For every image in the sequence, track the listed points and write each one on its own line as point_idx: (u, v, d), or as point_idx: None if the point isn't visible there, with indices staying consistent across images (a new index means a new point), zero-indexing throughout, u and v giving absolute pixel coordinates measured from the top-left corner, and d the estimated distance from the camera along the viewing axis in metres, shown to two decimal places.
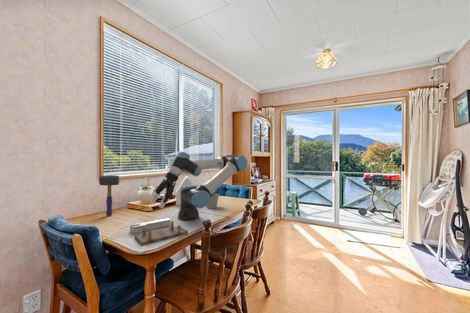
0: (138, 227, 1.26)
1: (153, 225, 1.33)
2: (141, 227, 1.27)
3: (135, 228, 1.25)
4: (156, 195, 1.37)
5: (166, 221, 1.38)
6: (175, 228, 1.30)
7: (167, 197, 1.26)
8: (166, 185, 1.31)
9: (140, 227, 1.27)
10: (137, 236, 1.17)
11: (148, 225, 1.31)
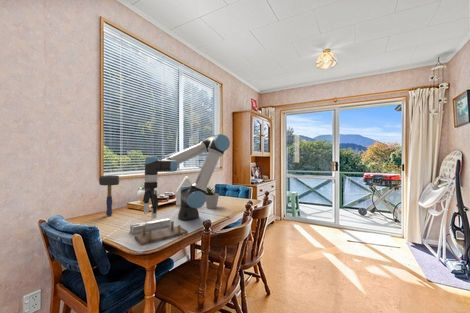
0: (138, 227, 1.26)
1: (153, 225, 1.33)
2: (141, 227, 1.27)
3: (135, 228, 1.25)
4: (146, 205, 1.38)
5: (166, 221, 1.38)
6: (175, 228, 1.30)
7: (155, 207, 1.27)
8: (149, 196, 1.30)
9: (140, 227, 1.27)
10: (137, 236, 1.17)
11: (148, 225, 1.31)
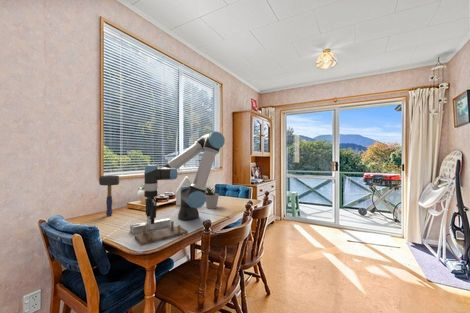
0: (138, 227, 1.26)
1: None
2: (141, 227, 1.27)
3: (135, 228, 1.25)
4: (149, 218, 1.35)
5: (166, 221, 1.38)
6: (175, 228, 1.30)
7: (152, 218, 1.30)
8: (148, 205, 1.31)
9: (140, 227, 1.27)
10: (137, 236, 1.17)
11: (148, 225, 1.31)
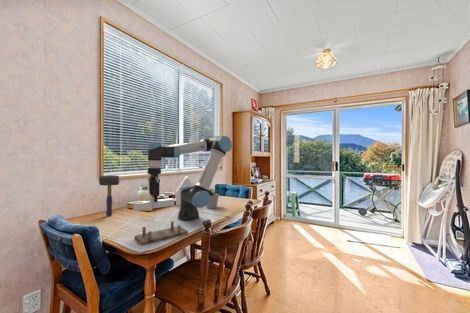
0: (140, 204, 1.22)
1: None
2: (144, 204, 1.23)
3: (137, 205, 1.21)
4: (152, 197, 1.31)
5: (170, 200, 1.34)
6: (175, 228, 1.30)
7: (155, 196, 1.26)
8: (152, 182, 1.27)
9: (143, 204, 1.23)
10: (137, 236, 1.17)
11: (151, 203, 1.27)
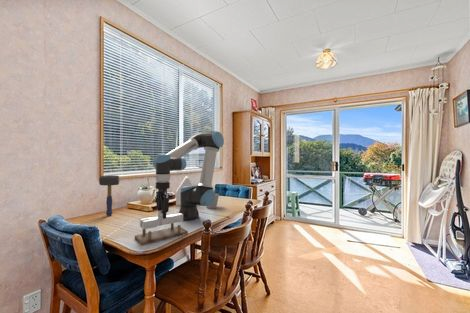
0: (149, 222, 1.14)
1: None
2: (152, 222, 1.15)
3: (146, 223, 1.13)
4: (160, 213, 1.23)
5: (178, 216, 1.26)
6: (175, 228, 1.30)
7: (164, 212, 1.19)
8: (160, 198, 1.20)
9: (151, 222, 1.15)
10: (137, 236, 1.17)
11: (159, 220, 1.19)
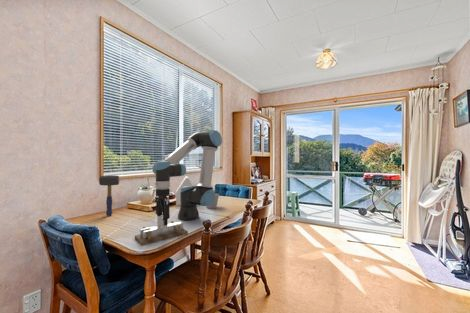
0: None
1: None
2: (152, 232, 1.16)
3: (146, 233, 1.14)
4: (159, 218, 1.24)
5: None
6: None
7: (166, 219, 1.18)
8: (160, 204, 1.19)
9: (151, 232, 1.15)
10: (137, 236, 1.17)
11: (160, 230, 1.19)
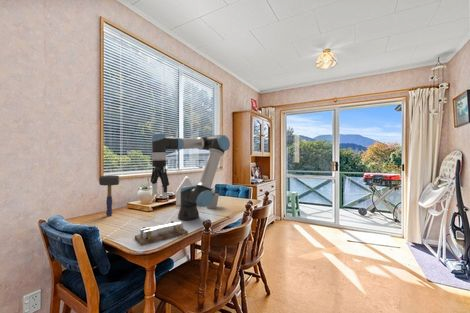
0: None
1: (165, 229, 1.21)
2: (152, 232, 1.16)
3: (146, 233, 1.14)
4: (154, 185, 1.31)
5: None
6: None
7: (165, 186, 1.20)
8: (158, 174, 1.23)
9: (151, 232, 1.15)
10: (137, 236, 1.17)
11: (160, 230, 1.19)
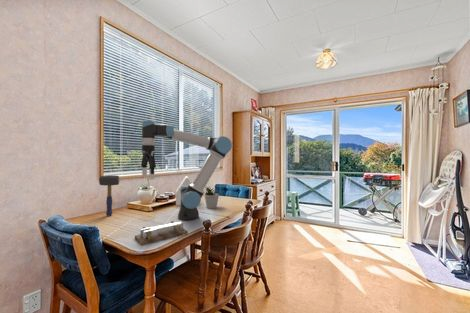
0: None
1: (165, 229, 1.21)
2: (152, 232, 1.16)
3: (146, 233, 1.14)
4: (144, 169, 1.42)
5: None
6: None
7: (152, 168, 1.31)
8: (146, 158, 1.34)
9: (151, 232, 1.15)
10: (137, 236, 1.17)
11: (160, 230, 1.19)
